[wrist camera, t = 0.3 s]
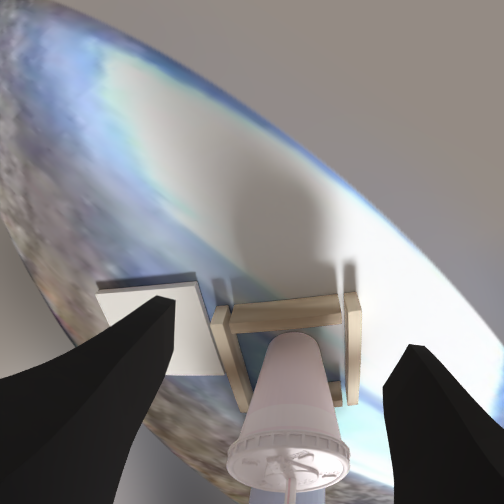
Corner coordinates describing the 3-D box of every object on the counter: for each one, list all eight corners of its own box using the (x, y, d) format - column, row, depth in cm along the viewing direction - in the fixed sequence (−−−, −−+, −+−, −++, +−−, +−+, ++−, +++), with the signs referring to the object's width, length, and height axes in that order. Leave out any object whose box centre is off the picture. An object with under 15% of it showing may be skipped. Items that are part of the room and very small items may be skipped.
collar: (355, 385, 23) (357, 404, 21) (244, 393, 24) (240, 412, 22) (356, 291, 19) (361, 310, 17) (216, 306, 21) (209, 324, 19)
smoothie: (269, 388, 24) (247, 555, 11) (232, 330, 21) (180, 529, 9) (347, 368, 22) (364, 548, 9) (322, 303, 20) (337, 529, 7)
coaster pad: (226, 369, 23) (224, 375, 23) (137, 368, 25) (134, 373, 24) (197, 281, 20) (194, 285, 19) (98, 289, 21) (94, 294, 21)
